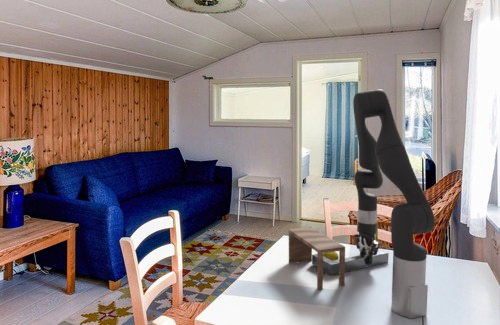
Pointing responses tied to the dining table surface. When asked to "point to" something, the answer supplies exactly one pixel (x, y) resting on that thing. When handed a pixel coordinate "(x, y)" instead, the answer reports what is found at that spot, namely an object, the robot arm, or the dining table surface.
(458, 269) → the dining table surface
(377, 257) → the crook tool
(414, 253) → the robot arm
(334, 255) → the lemon
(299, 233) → the small wooden stool
